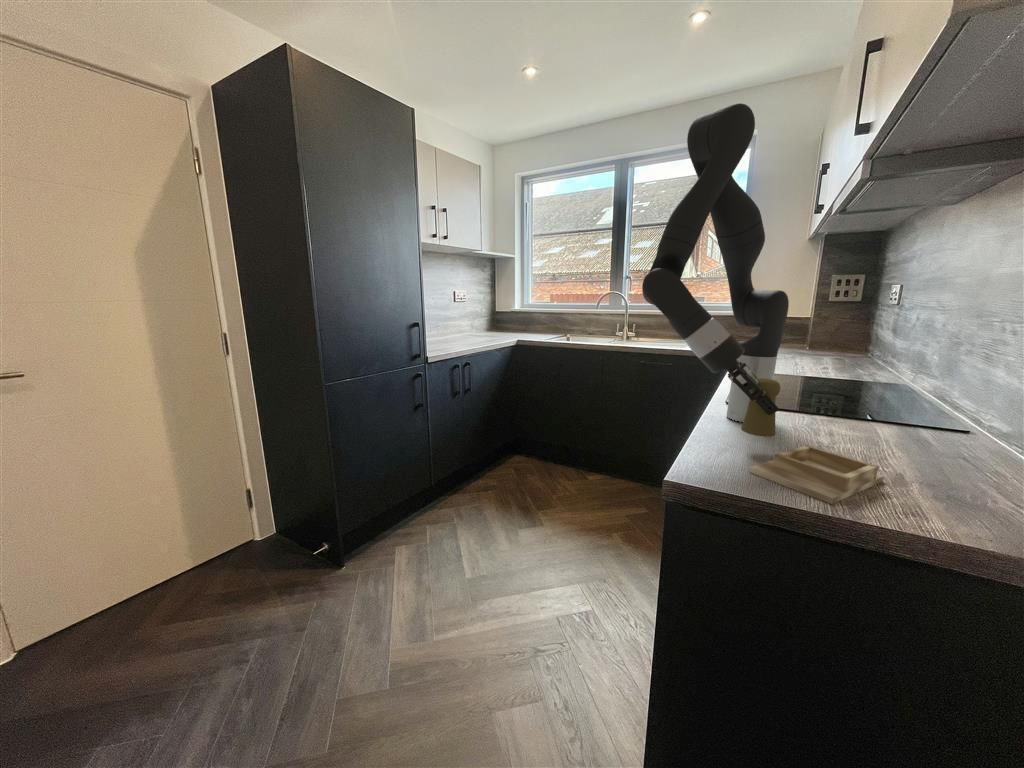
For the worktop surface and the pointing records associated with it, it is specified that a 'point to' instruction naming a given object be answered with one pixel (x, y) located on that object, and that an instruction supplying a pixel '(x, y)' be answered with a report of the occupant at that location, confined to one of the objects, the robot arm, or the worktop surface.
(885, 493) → the worktop surface
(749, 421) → the cork
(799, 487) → the stand
